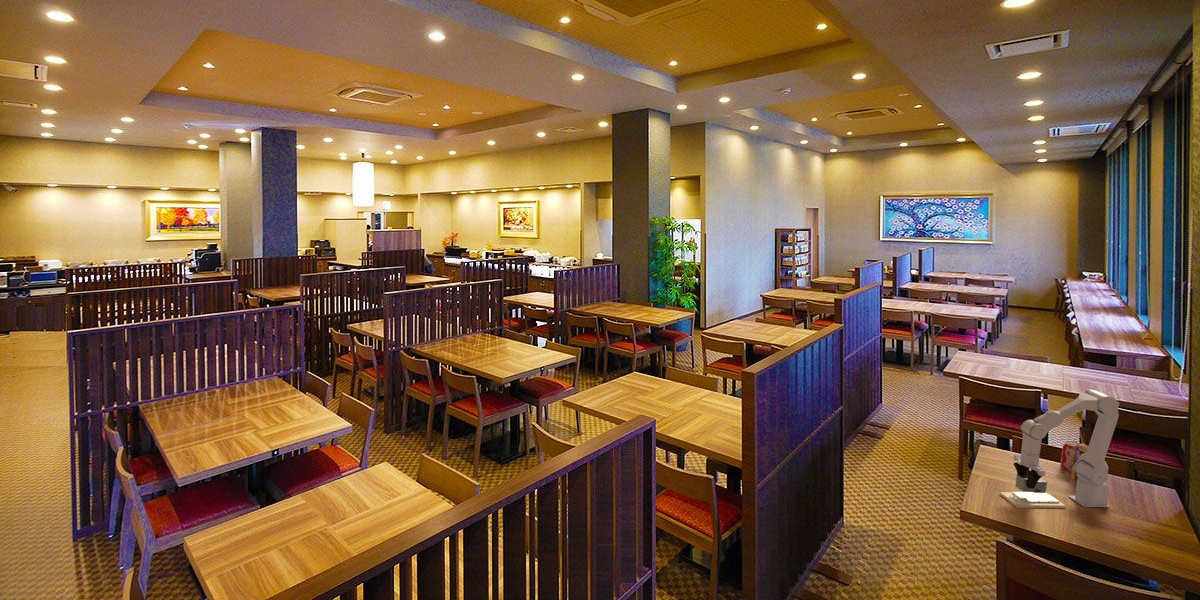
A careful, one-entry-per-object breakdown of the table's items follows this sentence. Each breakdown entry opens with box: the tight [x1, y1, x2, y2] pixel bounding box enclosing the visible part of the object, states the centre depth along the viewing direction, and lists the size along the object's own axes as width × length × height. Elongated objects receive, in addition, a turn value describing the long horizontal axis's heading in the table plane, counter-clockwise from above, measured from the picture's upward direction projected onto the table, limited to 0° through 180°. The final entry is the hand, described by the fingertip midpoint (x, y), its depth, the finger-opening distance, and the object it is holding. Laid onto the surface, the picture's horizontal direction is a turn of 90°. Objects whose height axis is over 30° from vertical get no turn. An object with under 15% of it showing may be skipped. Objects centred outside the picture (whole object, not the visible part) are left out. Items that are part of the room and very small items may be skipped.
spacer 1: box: [1014, 473, 1036, 492], centre depth 228 cm, size 4×4×5 cm
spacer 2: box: [1035, 477, 1048, 493], centre depth 236 cm, size 4×4×5 cm
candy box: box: [1070, 443, 1089, 482], centre depth 242 cm, size 9×4×15 cm, turn 12°
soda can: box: [1060, 440, 1080, 473], centre depth 254 cm, size 7×7×12 cm
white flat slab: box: [1011, 491, 1060, 503], centre depth 229 cm, size 13×7×1 cm, turn 89°
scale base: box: [999, 491, 1066, 509], centre depth 228 cm, size 18×10×1 cm, turn 89°
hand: (1026, 484), depth 228 cm, fingers closed on spacer 1, 4 cm apart
